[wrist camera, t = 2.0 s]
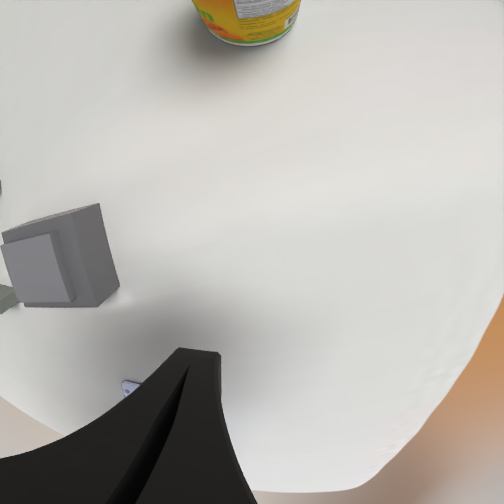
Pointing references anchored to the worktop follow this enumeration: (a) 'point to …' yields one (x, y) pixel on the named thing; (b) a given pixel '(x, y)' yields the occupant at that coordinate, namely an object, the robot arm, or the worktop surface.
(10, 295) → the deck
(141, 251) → the worktop surface
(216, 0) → the supplement bottle
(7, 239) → the dark grey block
